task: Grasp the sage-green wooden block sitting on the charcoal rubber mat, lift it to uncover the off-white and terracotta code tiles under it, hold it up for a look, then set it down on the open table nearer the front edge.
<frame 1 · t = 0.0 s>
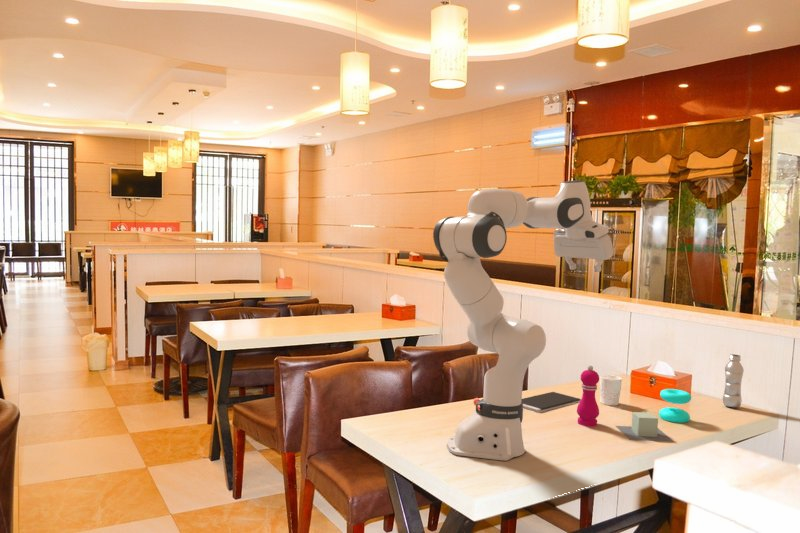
hand: (585, 270, 201), 52 cm above the table, tool tilted 20°, fingers open, 8 cm apart
plastic bottle: (731, 407, 236), on the table
donuts: (673, 420, 217), on the table
code mat: (643, 434, 200), on the table
sage block: (644, 433, 200), resting on code mat
dark grey flat slab: (546, 404, 233), on the table
pepper mill: (587, 424, 208), on the table
white cup: (609, 403, 236), on the table
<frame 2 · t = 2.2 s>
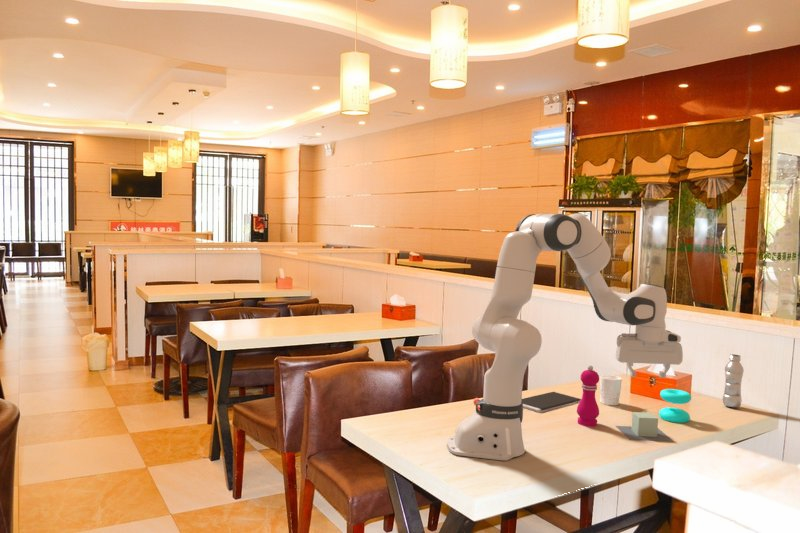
hand: (647, 376, 199), 19 cm above the table, tool pointing down, fingers open, 8 cm apart
nothing on the table moved.
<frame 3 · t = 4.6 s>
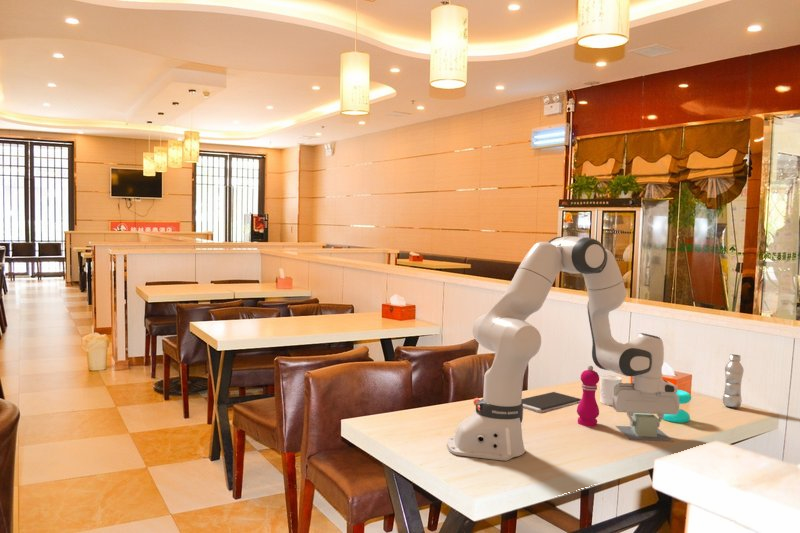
hand: (644, 426, 199), 3 cm above the table, tool pointing down, fingers closed on sage block, 6 cm apart
sage block: (643, 433, 200), resting on code mat, touching gripper
everything else where it was.
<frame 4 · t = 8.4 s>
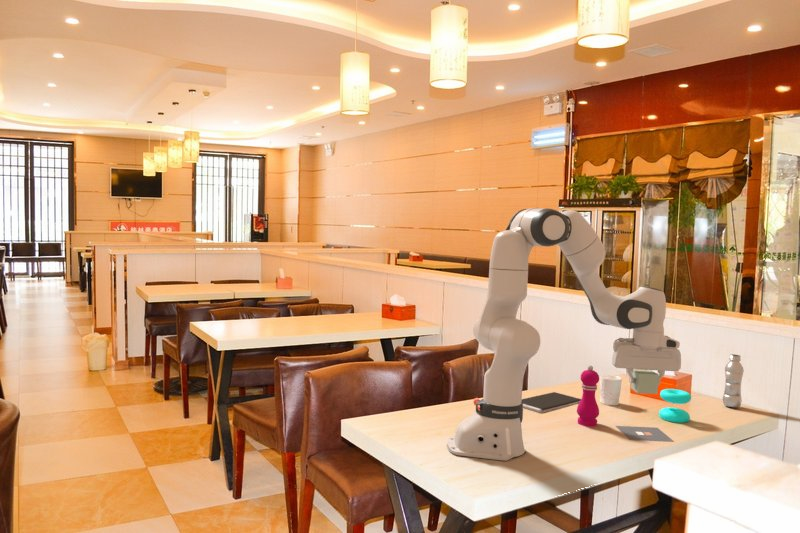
hand: (644, 383, 191), 18 cm above the table, tool pointing down, fingers closed on sage block, 6 cm apart
sage block: (643, 391, 192), point 16 cm above the table, touching gripper
everything else where it was.
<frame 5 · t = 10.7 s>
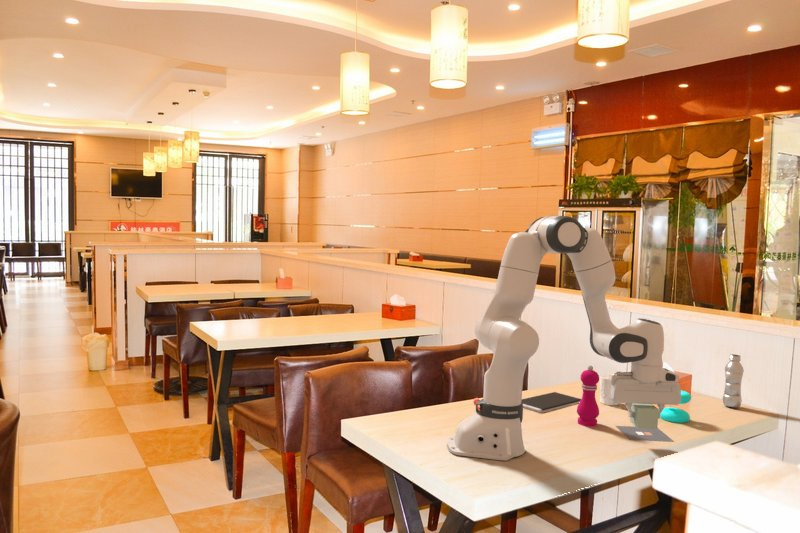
hand: (644, 417, 187), 9 cm above the table, tool pointing down, fingers closed on sage block, 6 cm apart
sage block: (643, 425, 187), point 7 cm above the table, touching gripper
everything else where it was.
when the fingers open (4 cm above the table, at t = 12.7 s): sage block drops 1 cm, on the table.
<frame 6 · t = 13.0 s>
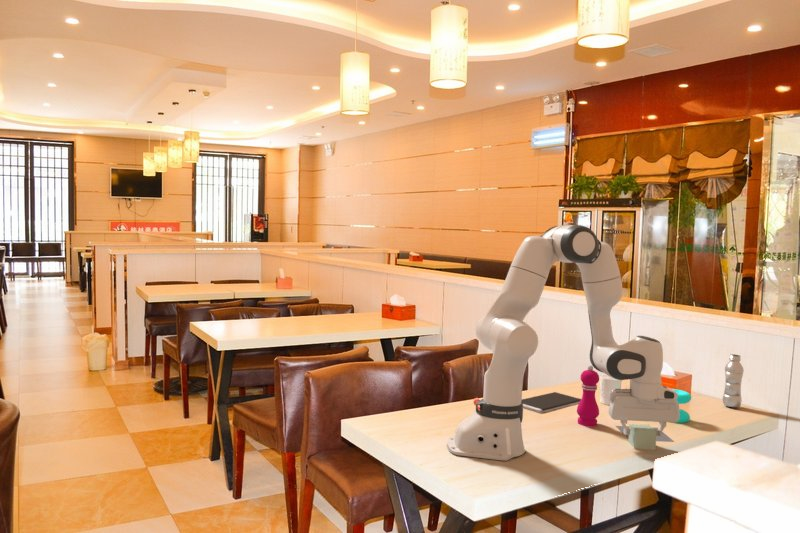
hand: (642, 434, 188), 4 cm above the table, tool pointing down, fingers open, 8 cm apart
sage block: (641, 446, 188), on the table
everything else where it was.
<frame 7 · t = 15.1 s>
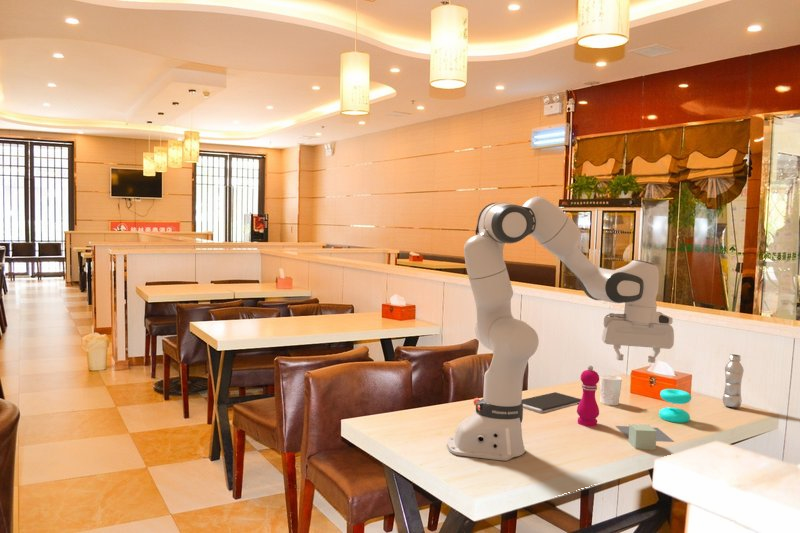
hand: (635, 361, 184), 26 cm above the table, tool pointing down, fingers open, 8 cm apart
nothing on the table moved.
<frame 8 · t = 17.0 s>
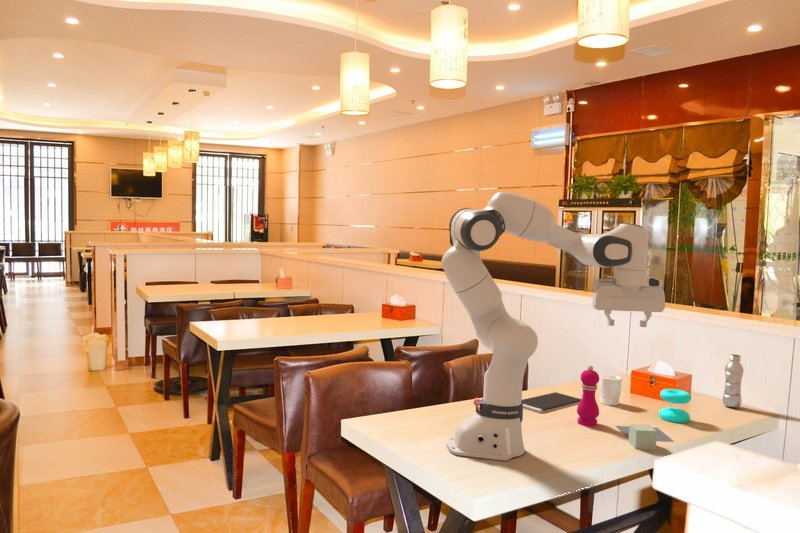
hand: (626, 326, 182), 37 cm above the table, tool pointing down, fingers open, 8 cm apart
at the end: sage block inside the target area (0.0 cm from its centre), on the table; sage block tilted 0°; the gripper is holding nothing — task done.
